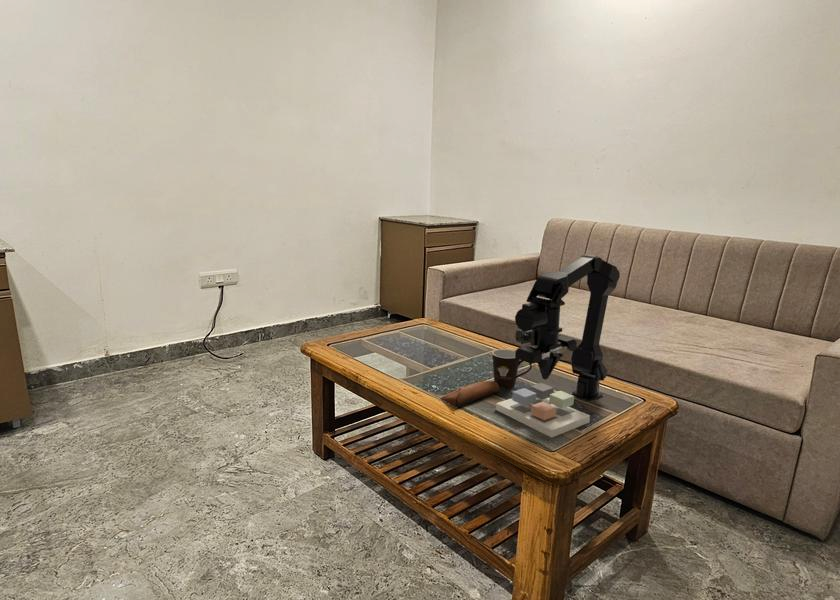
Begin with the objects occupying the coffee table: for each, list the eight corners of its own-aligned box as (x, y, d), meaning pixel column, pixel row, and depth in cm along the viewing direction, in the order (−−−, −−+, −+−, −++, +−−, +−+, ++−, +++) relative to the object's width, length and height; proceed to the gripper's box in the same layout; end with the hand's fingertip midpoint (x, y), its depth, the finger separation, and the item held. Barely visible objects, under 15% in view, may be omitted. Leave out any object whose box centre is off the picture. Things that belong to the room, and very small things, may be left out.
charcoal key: (540, 390, 158) (541, 382, 157) (553, 396, 154) (553, 387, 154) (529, 394, 155) (530, 386, 155) (542, 399, 152) (542, 391, 151)
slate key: (523, 396, 154) (524, 388, 153) (535, 401, 150) (536, 393, 150) (512, 400, 151) (512, 391, 150) (524, 405, 148) (524, 397, 147)
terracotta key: (542, 410, 149) (543, 401, 148) (555, 416, 145) (556, 407, 144) (531, 414, 146) (531, 405, 145) (544, 420, 142) (544, 411, 142)
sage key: (560, 399, 152) (560, 390, 152) (573, 404, 149) (574, 396, 148) (549, 402, 150) (549, 394, 149) (562, 408, 146) (563, 399, 146)
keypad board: (532, 397, 163) (533, 390, 162) (589, 422, 147) (589, 414, 147) (496, 409, 154) (496, 402, 154) (551, 437, 139) (552, 429, 138)
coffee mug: (485, 383, 173) (486, 353, 171) (502, 376, 179) (503, 347, 177) (515, 394, 165) (517, 362, 163) (532, 386, 171) (534, 356, 169)
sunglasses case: (478, 384, 172) (487, 370, 168) (493, 401, 169) (502, 386, 165) (436, 399, 160) (445, 384, 157) (451, 418, 157) (460, 403, 153)
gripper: (547, 311, 157) (544, 363, 161) (500, 322, 146) (499, 378, 150) (579, 319, 148) (576, 374, 152) (533, 332, 137) (530, 391, 141)
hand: (544, 379), depth 149 cm, fingers closed
